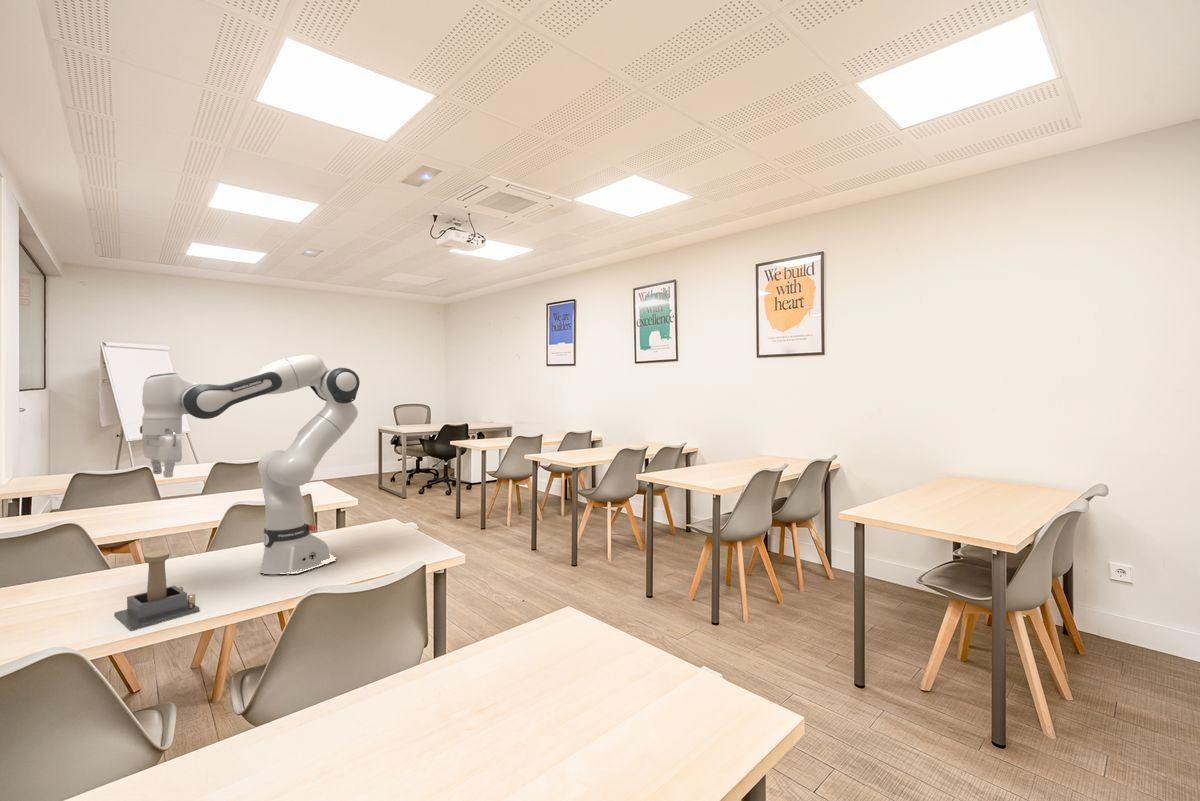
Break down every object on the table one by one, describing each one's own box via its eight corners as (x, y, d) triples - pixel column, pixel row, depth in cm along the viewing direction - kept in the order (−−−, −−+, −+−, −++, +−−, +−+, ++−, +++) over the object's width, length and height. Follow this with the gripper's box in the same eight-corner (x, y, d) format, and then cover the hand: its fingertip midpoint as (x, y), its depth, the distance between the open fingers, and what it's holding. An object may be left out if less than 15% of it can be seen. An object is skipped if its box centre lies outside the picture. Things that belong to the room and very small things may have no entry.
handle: (148, 616, 133) (148, 558, 132) (141, 610, 137) (141, 553, 136) (172, 610, 136) (171, 554, 136) (165, 604, 140) (165, 549, 140)
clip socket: (180, 598, 146) (180, 581, 146) (199, 611, 138) (199, 592, 138) (114, 616, 135) (114, 597, 135) (130, 630, 127) (130, 610, 127)
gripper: (188, 429, 148) (188, 477, 148) (164, 426, 159) (164, 470, 160) (160, 430, 142) (160, 480, 143) (137, 427, 154) (137, 473, 154)
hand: (162, 475), depth 151 cm, fingers open, 8 cm apart
